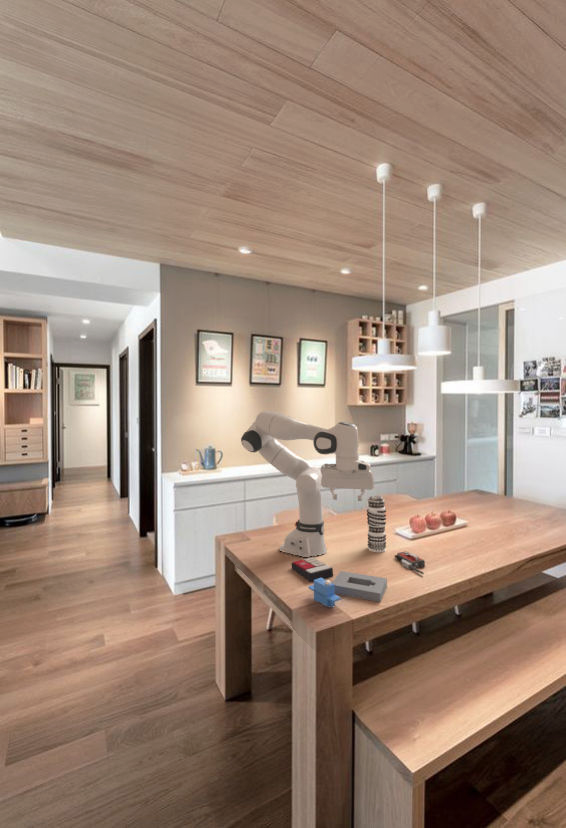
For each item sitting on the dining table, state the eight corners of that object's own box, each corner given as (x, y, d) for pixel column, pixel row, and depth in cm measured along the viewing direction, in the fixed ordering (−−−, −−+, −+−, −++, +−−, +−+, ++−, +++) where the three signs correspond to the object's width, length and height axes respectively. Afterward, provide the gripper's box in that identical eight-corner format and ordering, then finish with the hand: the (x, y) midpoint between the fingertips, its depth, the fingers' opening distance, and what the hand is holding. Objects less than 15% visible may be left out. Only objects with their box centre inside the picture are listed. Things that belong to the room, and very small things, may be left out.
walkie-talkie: (390, 559, 174) (421, 577, 155) (390, 549, 174) (420, 566, 155) (406, 556, 177) (438, 574, 158) (406, 547, 177) (438, 563, 158)
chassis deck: (330, 592, 143) (330, 584, 143) (340, 578, 155) (340, 570, 155) (380, 602, 135) (380, 593, 135) (387, 586, 147) (386, 578, 147)
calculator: (312, 556, 170) (333, 566, 157) (313, 566, 170) (333, 577, 157) (290, 561, 165) (310, 572, 152) (291, 571, 165) (310, 583, 151)
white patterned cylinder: (387, 546, 189) (386, 495, 189) (386, 553, 180) (386, 499, 180) (367, 545, 192) (367, 494, 191) (366, 551, 183) (365, 498, 182)
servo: (308, 596, 140) (308, 574, 140) (315, 593, 142) (315, 571, 142) (333, 611, 130) (332, 587, 130) (340, 608, 132) (340, 584, 132)
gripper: (319, 464, 151) (319, 500, 151) (373, 466, 145) (373, 503, 146) (321, 462, 157) (322, 496, 157) (374, 463, 152) (374, 499, 152)
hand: (347, 499), depth 151 cm, fingers open, 8 cm apart
